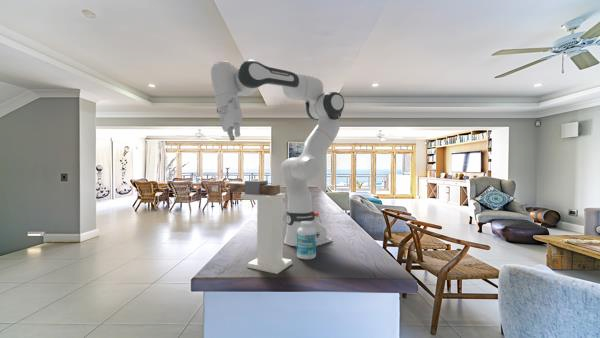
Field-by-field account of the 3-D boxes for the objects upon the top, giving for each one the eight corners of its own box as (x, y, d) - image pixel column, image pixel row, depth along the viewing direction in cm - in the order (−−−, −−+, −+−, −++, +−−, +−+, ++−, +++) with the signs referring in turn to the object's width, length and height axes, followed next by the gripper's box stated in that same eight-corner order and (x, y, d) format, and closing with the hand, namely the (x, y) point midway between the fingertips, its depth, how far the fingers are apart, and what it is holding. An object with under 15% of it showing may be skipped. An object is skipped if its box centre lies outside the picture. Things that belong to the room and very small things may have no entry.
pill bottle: (295, 259, 101) (295, 223, 101) (298, 253, 109) (298, 219, 109) (315, 260, 100) (315, 224, 100) (316, 254, 108) (317, 220, 108)
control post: (240, 265, 95) (240, 181, 94) (257, 257, 104) (257, 179, 103) (277, 273, 88) (277, 182, 88) (291, 263, 97) (292, 181, 97)
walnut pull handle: (229, 191, 101) (229, 183, 101) (235, 190, 104) (235, 183, 104) (275, 194, 92) (275, 185, 92) (279, 193, 95) (279, 185, 95)
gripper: (242, 95, 99) (250, 132, 99) (230, 110, 117) (237, 141, 117) (225, 96, 96) (232, 134, 96) (215, 111, 114) (222, 143, 114)
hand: (235, 138), depth 107 cm, fingers open, 8 cm apart
